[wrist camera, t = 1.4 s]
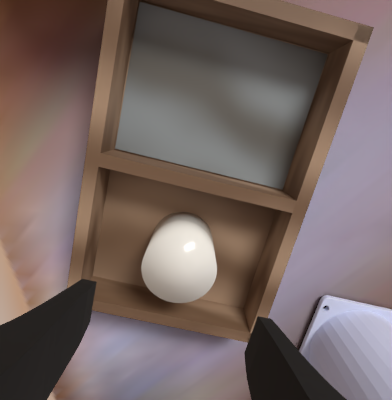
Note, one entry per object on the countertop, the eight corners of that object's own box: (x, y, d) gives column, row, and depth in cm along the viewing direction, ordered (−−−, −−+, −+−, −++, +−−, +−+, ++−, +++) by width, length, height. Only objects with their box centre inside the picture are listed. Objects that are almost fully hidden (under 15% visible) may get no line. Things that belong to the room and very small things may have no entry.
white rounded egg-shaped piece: (204, 272, 21) (206, 309, 17) (147, 259, 21) (134, 294, 16) (219, 219, 20) (225, 244, 15) (159, 205, 19) (149, 227, 15)
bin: (248, 312, 23) (257, 344, 19) (84, 277, 22) (64, 304, 18) (339, 46, 18) (373, 27, 14) (130, -13, 17) (114, -48, 13)
